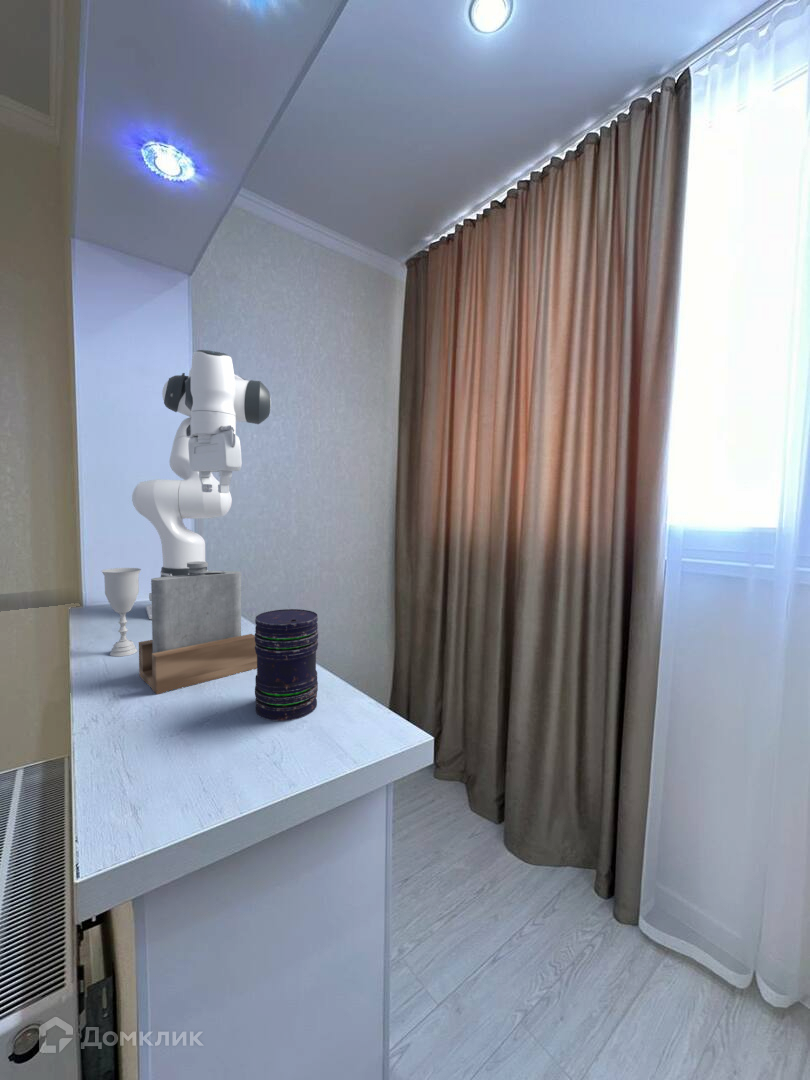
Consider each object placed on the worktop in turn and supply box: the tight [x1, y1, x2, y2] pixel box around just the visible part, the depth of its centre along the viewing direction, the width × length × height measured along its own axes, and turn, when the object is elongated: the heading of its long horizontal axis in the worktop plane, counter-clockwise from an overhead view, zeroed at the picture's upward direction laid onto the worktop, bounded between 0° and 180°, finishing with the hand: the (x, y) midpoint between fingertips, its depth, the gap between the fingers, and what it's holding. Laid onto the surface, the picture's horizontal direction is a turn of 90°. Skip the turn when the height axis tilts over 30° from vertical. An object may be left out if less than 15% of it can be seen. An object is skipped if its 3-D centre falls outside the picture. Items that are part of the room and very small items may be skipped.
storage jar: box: [254, 608, 319, 722], centre depth 70 cm, size 10×10×15 cm
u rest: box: [138, 633, 257, 695], centre depth 84 cm, size 11×18×6 cm, turn 135°
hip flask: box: [150, 561, 242, 653], centre depth 83 cm, size 16×4×20 cm, turn 134°
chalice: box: [101, 567, 142, 657], centre depth 93 cm, size 7×7×18 cm
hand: (215, 492), depth 95 cm, fingers open, 8 cm apart
